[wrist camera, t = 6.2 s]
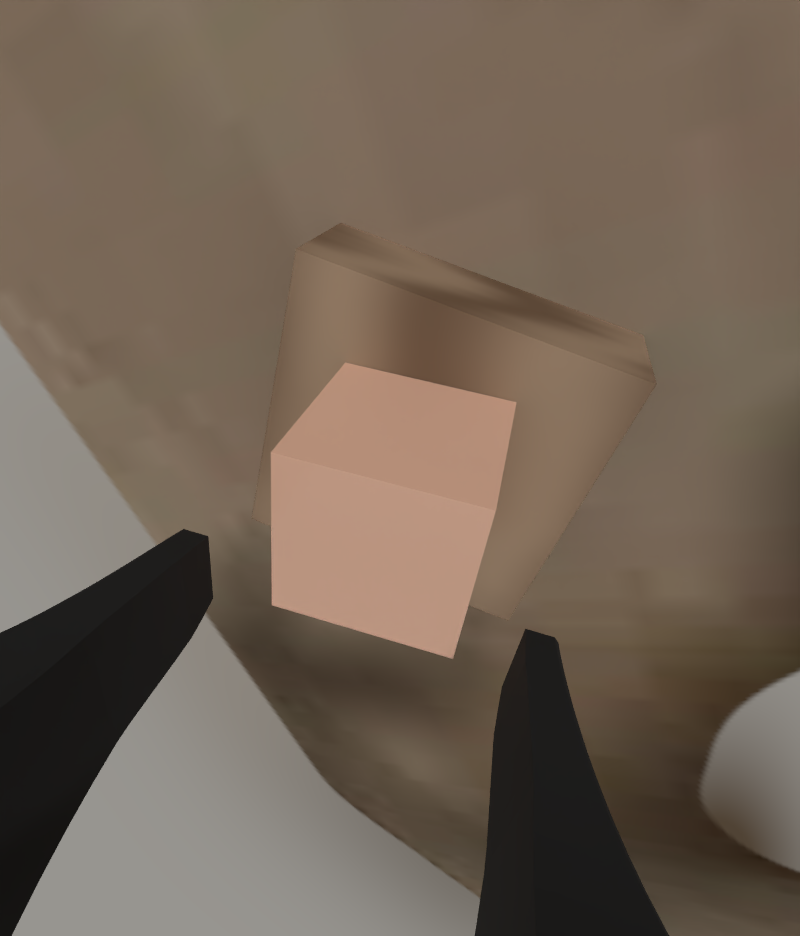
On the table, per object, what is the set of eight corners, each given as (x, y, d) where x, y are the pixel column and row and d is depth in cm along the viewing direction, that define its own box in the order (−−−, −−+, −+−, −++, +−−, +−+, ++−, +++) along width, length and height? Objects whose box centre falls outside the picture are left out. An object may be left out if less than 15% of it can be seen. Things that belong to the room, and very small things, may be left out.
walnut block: (641, 330, 18) (656, 384, 15) (517, 548, 24) (508, 620, 21) (344, 220, 18) (295, 248, 15) (294, 461, 24) (251, 518, 21)
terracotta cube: (516, 402, 16) (496, 510, 12) (479, 535, 19) (452, 658, 15) (345, 362, 17) (270, 451, 13) (335, 497, 19) (271, 605, 15)
